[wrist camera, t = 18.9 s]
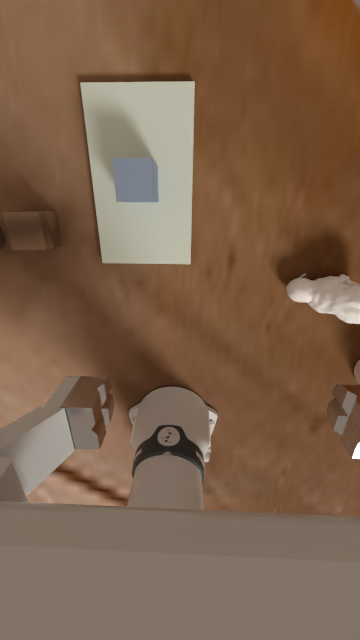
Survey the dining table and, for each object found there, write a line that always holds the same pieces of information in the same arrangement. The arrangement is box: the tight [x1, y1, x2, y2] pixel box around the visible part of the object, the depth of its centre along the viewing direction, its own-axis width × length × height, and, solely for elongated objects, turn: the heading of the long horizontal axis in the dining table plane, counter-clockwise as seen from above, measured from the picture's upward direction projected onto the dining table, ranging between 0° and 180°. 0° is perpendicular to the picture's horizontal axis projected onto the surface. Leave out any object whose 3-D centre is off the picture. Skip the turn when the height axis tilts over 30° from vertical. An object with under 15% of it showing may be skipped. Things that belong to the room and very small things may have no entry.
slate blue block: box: [112, 158, 159, 202], centre depth 32 cm, size 4×4×6 cm
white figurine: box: [286, 274, 360, 324], centre depth 38 cm, size 6×8×12 cm
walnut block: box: [1, 211, 62, 250], centre depth 37 cm, size 5×5×5 cm
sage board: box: [80, 81, 195, 264], centre depth 35 cm, size 22×14×1 cm, turn 0°
